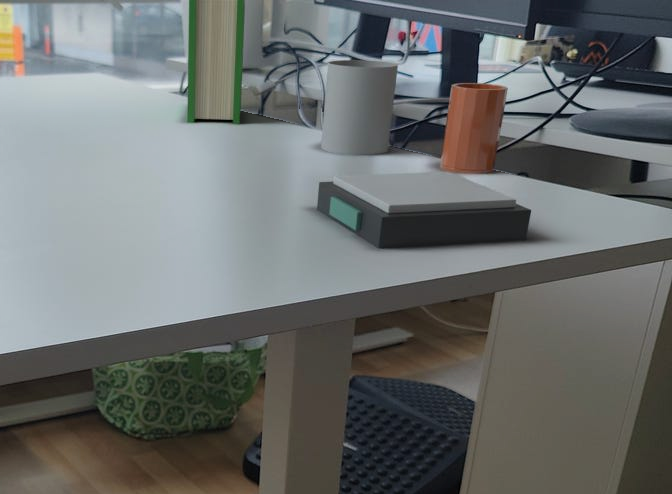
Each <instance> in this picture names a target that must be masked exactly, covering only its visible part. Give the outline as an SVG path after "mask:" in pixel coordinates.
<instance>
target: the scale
mask: <svg viewBox="0 0 672 494" xmlns="http://www.w3.org/2000/svg"><path fill="white" fill-rule="evenodd" d="M316 211H317V212H319V213H321V214H323V215H324V216H326V217H327V218H329V219H331V220H332V221H334V222H335V223H337V224H338V225H340V226H341V227H343V228H345V229H346V230H348V231H349V232H351V233H353V234H354V235H356V236H358V237H359V238H361V239H362V240H364V241H366V242H367V243H369V244H371V245H372V246H374V247H375V248H377V249H395V248H414V247H431V246H448V245H450V246H451V245H465V244H467V245H468V244H482V243H499V242H500V243H501V242H518V241H526V240H527V235H528V230H529V226H530V220H531V214H532V209H530V208H528V207H525V206H523V205H521V204H519V203H517V199H516V198H514V197H512V196H509V195H507V194H504V193H502V192H499V191H496V190H494V189H492V188H490V187H487V186H485V185H482V184H479V183H478V182H475V181H473V180H470V179H467V178H465V177H463V176H460V175H457V174H455V173H454V172H451V171H435V172H434V171H433V172H432V171H430V172H409V173H408V172H407V173H406V172H403V173H380V174H379V173H378V174H377V173H376V174H353V175H352V174H350V175H334V176H333V180H332V181H319V183H318V191H317V204H316Z"/></svg>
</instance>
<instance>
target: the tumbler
mask: <svg viewBox="0 0 672 494" xmlns="http://www.w3.org/2000/svg"><path fill="white" fill-rule="evenodd" d="M508 91H509V88H508V87H507V86H504V85H500V84H492V83H481V82H480V83H479V82H478V83H477V82H460V83H454V84H451V87H450V94H449V101H448V106H447V107H448V108H447V113H446V114H447V115H446V121H445V128H444V134H443V142H442V149H441V155H440V156H441V157H440V166H439V167H440V169H442V170H443V171H446V172H451V173H459V174H469V175H471V174H473V175H478V174H479V175H480V174H482V175H483V174H489V173H493V172H494V169H495V165H496V161H497V160H496V159H497V154H498V149H499V143H500V138H501V137H500V136H501V131H502V126H503V120H504V119H503V118H504V113H505V107H506V102H507V97H508V96H507V95H508Z"/></svg>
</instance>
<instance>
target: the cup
mask: <svg viewBox="0 0 672 494" xmlns="http://www.w3.org/2000/svg"><path fill="white" fill-rule="evenodd" d="M398 68H399V65H398V64H397V63H393V62H388V61H380V60H379V61H377V60H363V59H362V60H361V59H345V60H344V59H342V60H341V59H340V60H332V61H328V62H327V71H326V85H325V96H324V107H323V108H324V109H323V119H322V131H321V143H320V144H321V146H320V148H321V150H324V151H327V152H329V153H334V154H340V155H353V156H374V155H381V154H385V153H388V152H389V146H390V139H391V138H390V137H391V127H392V121H393V120H392V119H393V110H394V102H395V95H396V94H395V93H396V86H397V77H398Z"/></svg>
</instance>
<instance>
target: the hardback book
mask: <svg viewBox="0 0 672 494" xmlns="http://www.w3.org/2000/svg"><path fill="white" fill-rule="evenodd" d="M245 13H246V0H188V47H187V48H188V53H187V54H188V55H187V61H188V62H187V117H186V119H187V121H186V122H187V124H189V123H191V124H194V123H195V121H196V120H198V119H199V120H230V121H231V120H232V125H240V121H241V111H242V91H243V68H244V67H243V65H244V41H245V40H244V39H245V16H246V15H245Z"/></svg>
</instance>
